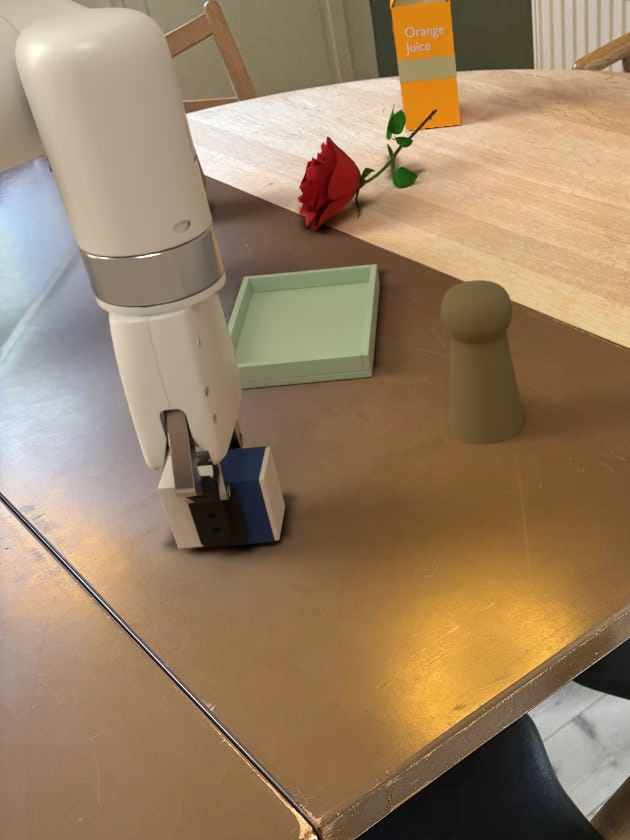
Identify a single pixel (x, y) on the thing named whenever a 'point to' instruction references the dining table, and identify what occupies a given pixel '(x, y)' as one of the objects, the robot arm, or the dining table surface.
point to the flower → (348, 175)
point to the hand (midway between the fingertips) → (230, 519)
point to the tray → (305, 326)
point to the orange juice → (426, 62)
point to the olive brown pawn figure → (481, 364)
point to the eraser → (254, 488)
